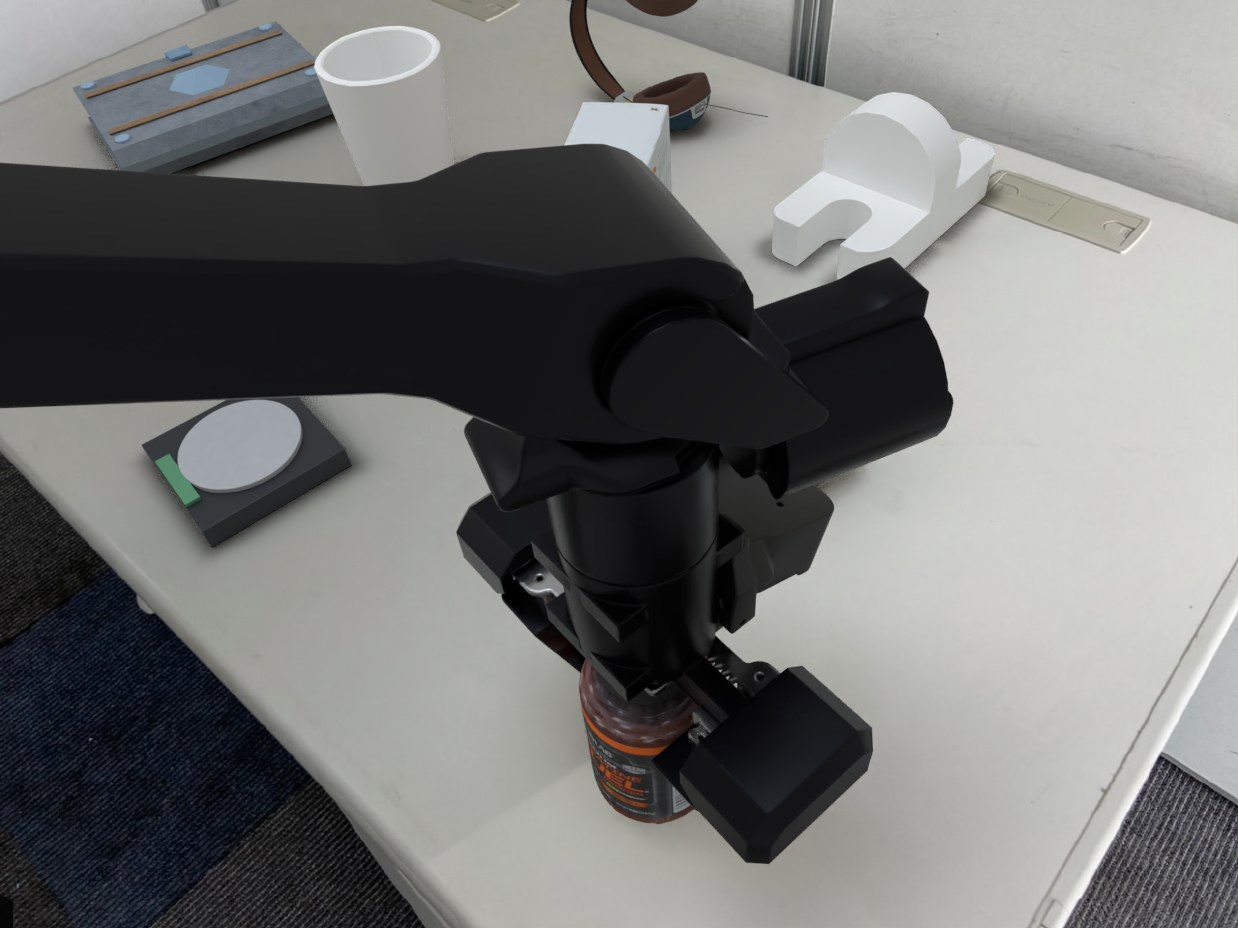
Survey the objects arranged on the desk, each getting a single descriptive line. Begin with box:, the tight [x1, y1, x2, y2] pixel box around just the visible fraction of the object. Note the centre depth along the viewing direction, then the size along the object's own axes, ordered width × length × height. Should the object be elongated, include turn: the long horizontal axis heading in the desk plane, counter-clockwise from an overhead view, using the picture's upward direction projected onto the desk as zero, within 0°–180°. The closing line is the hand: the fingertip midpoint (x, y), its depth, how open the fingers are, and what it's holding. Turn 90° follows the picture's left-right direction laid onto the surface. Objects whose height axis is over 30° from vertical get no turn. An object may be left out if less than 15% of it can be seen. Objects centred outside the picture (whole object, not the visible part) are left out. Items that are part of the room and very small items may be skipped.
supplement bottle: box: [578, 656, 714, 825], centre depth 44 cm, size 6×6×11 cm
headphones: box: [568, 0, 769, 131], centre depth 85 cm, size 6×15×22 cm
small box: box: [563, 101, 673, 194], centre depth 70 cm, size 8×6×13 cm
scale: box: [141, 397, 352, 548], centre depth 64 cm, size 10×10×2 cm
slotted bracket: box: [771, 91, 996, 281], centre depth 74 cm, size 18×10×10 cm, turn 137°
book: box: [72, 21, 334, 174], centre depth 95 cm, size 21×16×5 cm
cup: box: [314, 25, 455, 186], centre depth 81 cm, size 10×10×13 cm
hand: (654, 728), depth 45 cm, fingers closed on supplement bottle, 6 cm apart
